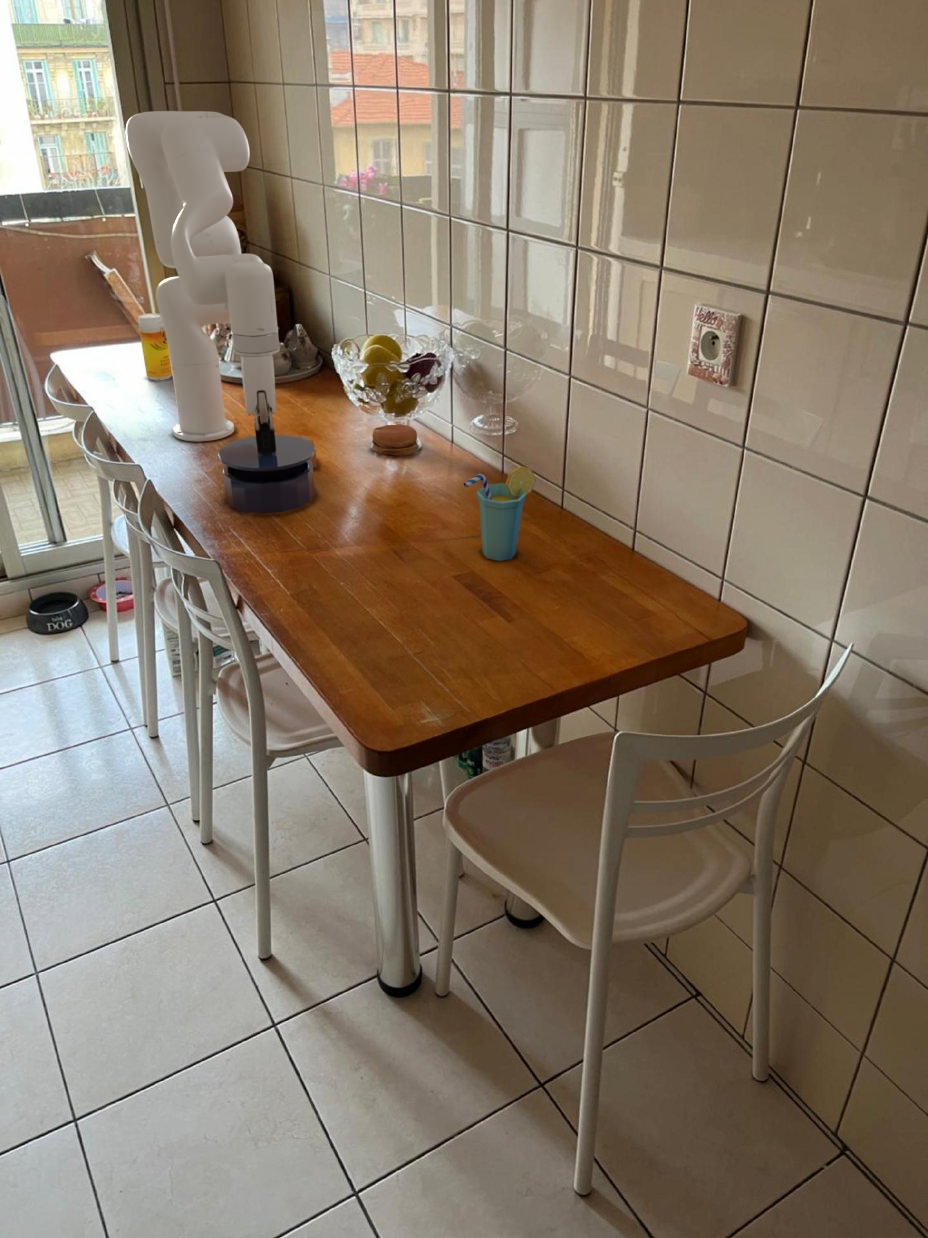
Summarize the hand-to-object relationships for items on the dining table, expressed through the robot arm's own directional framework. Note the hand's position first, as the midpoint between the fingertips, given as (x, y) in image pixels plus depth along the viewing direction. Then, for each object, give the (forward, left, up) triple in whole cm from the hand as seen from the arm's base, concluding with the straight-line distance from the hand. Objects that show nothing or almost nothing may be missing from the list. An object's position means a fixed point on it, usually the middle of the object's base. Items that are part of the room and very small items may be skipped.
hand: (266, 447), depth 161 cm
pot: (0, 0, -10) cm, 10 cm away
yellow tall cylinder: (-81, -23, -10) cm, 85 cm away
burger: (-20, +26, -10) cm, 34 cm away
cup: (+30, +34, -10) cm, 46 cm away
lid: (0, 0, -1) cm, 1 cm away
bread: (-15, +5, -10) cm, 19 cm away
